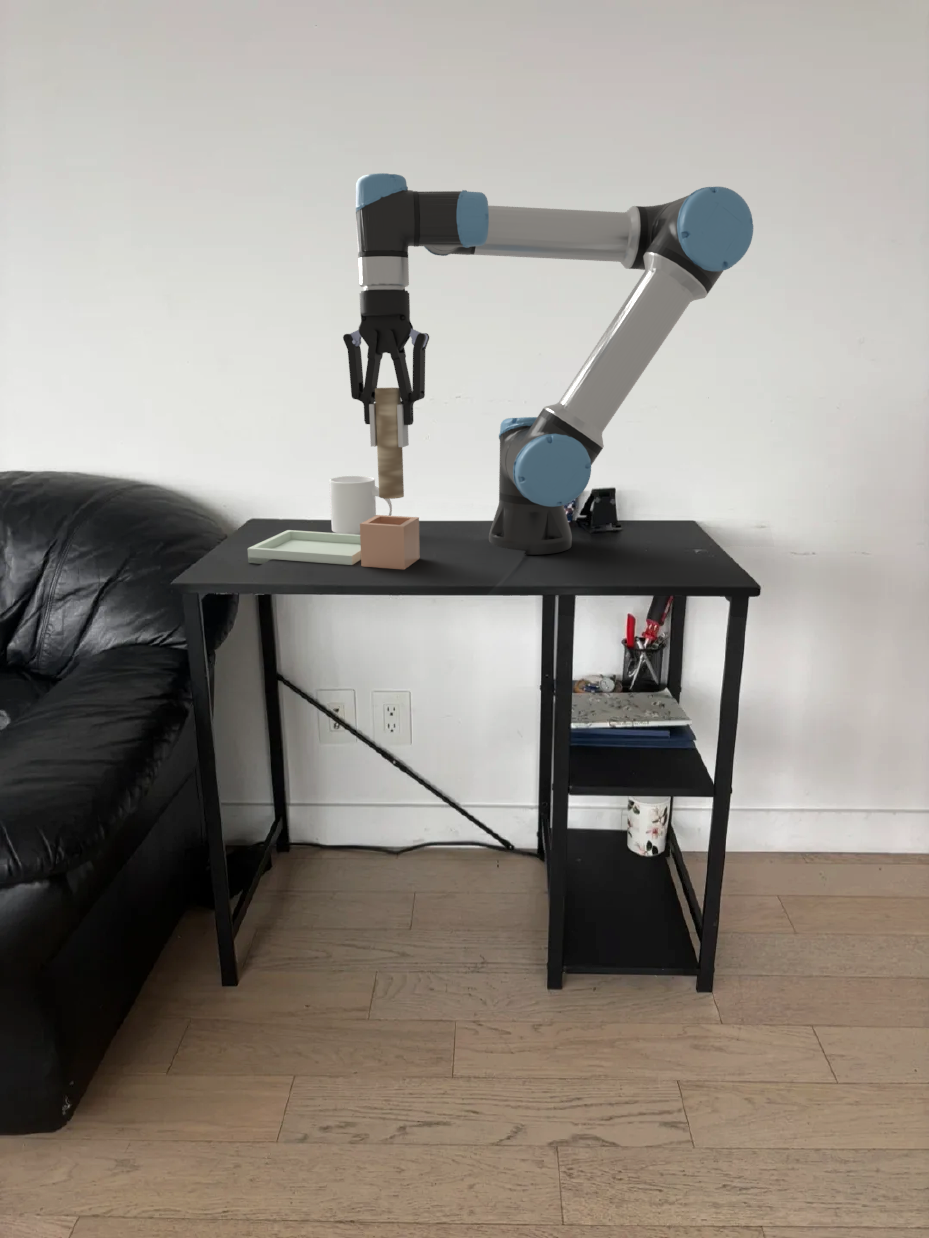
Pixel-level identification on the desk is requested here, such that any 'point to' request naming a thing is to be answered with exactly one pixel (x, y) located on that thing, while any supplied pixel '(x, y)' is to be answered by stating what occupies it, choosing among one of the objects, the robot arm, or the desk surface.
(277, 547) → the tray
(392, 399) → the dowel
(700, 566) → the desk surface
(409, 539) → the planter
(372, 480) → the mug
